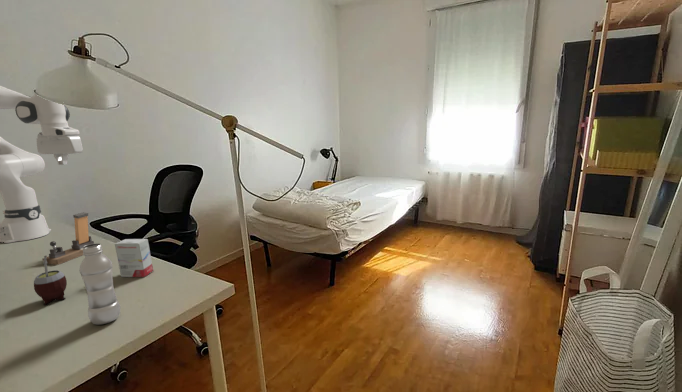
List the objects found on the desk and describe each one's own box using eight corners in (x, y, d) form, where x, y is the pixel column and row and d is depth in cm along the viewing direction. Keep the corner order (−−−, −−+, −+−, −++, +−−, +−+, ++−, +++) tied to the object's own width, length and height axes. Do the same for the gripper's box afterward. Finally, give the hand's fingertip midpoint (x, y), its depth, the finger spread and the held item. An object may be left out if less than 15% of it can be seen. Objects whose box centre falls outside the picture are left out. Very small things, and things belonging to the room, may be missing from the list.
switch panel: (43, 263, 124) (40, 249, 123) (85, 248, 139) (82, 235, 138) (58, 264, 122) (55, 250, 121) (98, 249, 137) (95, 236, 136)
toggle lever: (51, 252, 124) (47, 242, 124) (56, 250, 126) (52, 241, 125) (55, 251, 124) (51, 241, 123) (60, 249, 125) (56, 240, 125)
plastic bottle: (100, 314, 87) (85, 242, 83) (127, 312, 88) (114, 240, 84) (84, 329, 81) (67, 251, 77) (113, 327, 81) (98, 249, 77)
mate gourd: (53, 294, 100) (42, 246, 97) (78, 293, 99) (68, 245, 96) (29, 307, 92) (16, 256, 89) (57, 306, 92) (45, 255, 89)
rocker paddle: (75, 243, 132) (73, 214, 130) (85, 239, 136) (83, 212, 134) (79, 244, 132) (77, 216, 129) (89, 240, 136) (88, 213, 133)
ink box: (154, 271, 114) (148, 238, 111) (144, 277, 109) (138, 243, 106) (130, 270, 114) (125, 238, 112) (120, 277, 110) (113, 243, 107)
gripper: (28, 132, 138) (36, 165, 141) (67, 130, 133) (74, 165, 136) (45, 132, 144) (51, 164, 147) (82, 130, 139) (88, 163, 142)
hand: (63, 164), depth 141 cm, fingers closed
